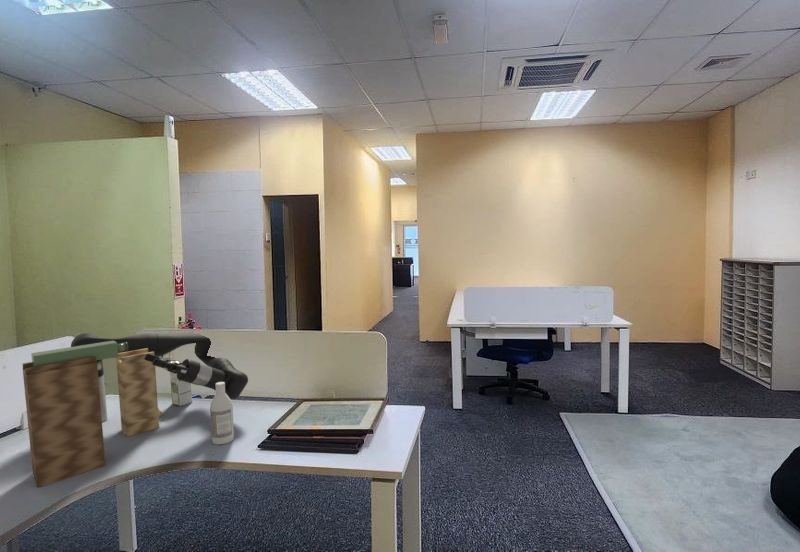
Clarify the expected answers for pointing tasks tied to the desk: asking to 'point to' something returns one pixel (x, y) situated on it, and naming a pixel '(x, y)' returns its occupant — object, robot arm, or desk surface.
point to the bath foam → (221, 416)
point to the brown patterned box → (64, 419)
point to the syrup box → (180, 391)
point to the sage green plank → (79, 353)
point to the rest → (137, 392)
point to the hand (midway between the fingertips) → (149, 358)
